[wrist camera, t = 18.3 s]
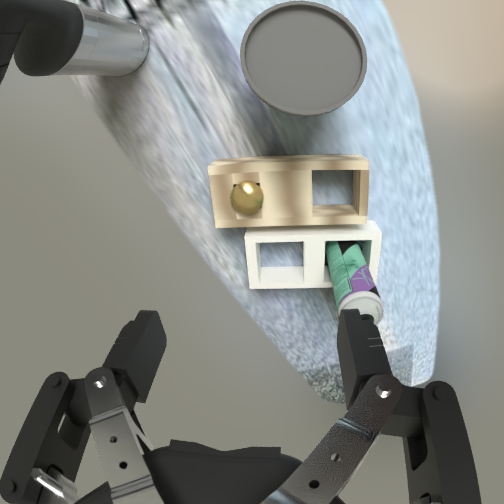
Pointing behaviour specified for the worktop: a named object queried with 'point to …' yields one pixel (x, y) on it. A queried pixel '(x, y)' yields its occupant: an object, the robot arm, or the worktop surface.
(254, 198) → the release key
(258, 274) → the frame
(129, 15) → the worktop surface
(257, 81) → the reusable coffee cup
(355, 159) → the socket block
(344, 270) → the spray can
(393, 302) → the worktop surface
